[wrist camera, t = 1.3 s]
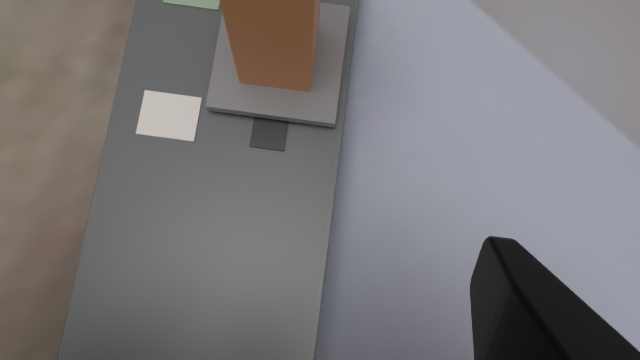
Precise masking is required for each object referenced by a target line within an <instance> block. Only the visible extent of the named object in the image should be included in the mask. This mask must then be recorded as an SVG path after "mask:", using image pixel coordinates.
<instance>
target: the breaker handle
mask: <svg viewBox="0 0 640 360" xmlns="http://www.w3.org/2000/svg"><path fill="white" fill-rule="evenodd" d="M220 5H221V9H222V18H221V24H220V29H219V35H218V40H217V46H216V51H215V57H214V62H213V68H212V73H211V79H210V84H209V90H208V95H207V100H206V106H205V107H206V109H207V110H208V111H215V112H223V113H230V114H237V115H245V116H252V117H260V118H267V119H274V120H282V121H289V122H297V123H304V124H311V125H319V126H326V127H335V121H336V113H337V105H338V98H339V90H340V82H341V74H342V67H343V59H344V51H345V43H346V36H347V28H348V20H349V12H350V6H343V5H336V4H329V3H321V0H220Z"/></svg>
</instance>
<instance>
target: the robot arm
mask: <svg viewBox="0 0 640 360" xmlns="http://www.w3.org/2000/svg"><path fill="white" fill-rule="evenodd" d="M470 299H471V315H472V330H473V346H474V360H640V352H639V351H638V350H637V349H636V348H635V347H634V346H633V345H632V344H630V343H629V342H628V341H627V340H626V339H625V338H624V337H623V336H622V335H620V334H619V333H618V332H617V331H616V330H615V329H614V328H613V327H612V326H610V325H609V324H608V323H607V322H606V321H605V320H604V319H603V318H602V317H600V316H599V315H598V314H597V313H596V312H595V311H594V310H593V309H591V308H590V307H589V306H588V305H587V304H586V303H585V302H584V301H583V300H581V299H580V298H579V297H578V296H577V295H576V294H575V293H574V292H573V291H571V290H570V289H569V288H568V287H567V286H566V285H565V284H564V283H563V282H561V281H560V280H559V279H558V278H557V277H556V276H555V275H554V274H553V273H551V272H550V271H549V270H548V269H547V268H546V267H545V266H544V265H543V264H541V263H540V262H539V261H538V260H537V259H536V258H535V257H534V256H533V255H531V254H530V253H529V252H528V251H527V250H526V249H525V248H524V247H523V246H521V245H520V244H519V243H518V242H517V241H516V240H514V239H510V238H502V237H494V236H489V237H488V238H486V239H485V241H484V242H483V245H482V248H481V251H480V254H479V257H478V260H477V263H476V266H475V269H474V272H473V275H472V278H471V284H470Z"/></svg>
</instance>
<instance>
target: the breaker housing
mask: <svg viewBox="0 0 640 360" xmlns="http://www.w3.org/2000/svg"><path fill="white" fill-rule="evenodd" d="M321 3H329V4H336V5H343V6H350V12H349V20H348V28H347V36H346V43H345V51H344V59H343V67H342V74H341V82H340V90H339V98H338V105H337V113H336V121H335V127H326V126H319V125H311V124H304V123H297V122H289V121H282V120H274V119H267V118H260V117H252V116H245V115H237V114H230V113H223V112H215V111H208V110H207V109H206V107H205V106H206V100H207V95H208V90H209V84H210V79H211V73H212V68H213V62H214V57H215V51H216V46H217V40H218V35H219V29H220V24H221V18H222V9H221V5H220V0H136V3H135V8H134V13H133V17H132V22H131V26H130V31H129V35H128V40H127V44H126V49H125V53H124V58H123V62H122V67H121V72H120V76H119V81H118V85H117V90H116V94H115V99H114V103H113V108H112V112H111V117H110V121H109V126H108V130H107V135H106V140H105V144H104V149H103V153H102V158H101V162H100V167H99V171H98V176H97V180H96V185H95V189H94V194H93V198H92V203H91V208H90V212H89V217H88V221H87V226H86V230H85V235H84V239H83V244H82V248H81V253H80V257H79V262H78V266H77V271H76V276H75V280H74V285H73V289H72V294H71V298H70V303H69V307H68V312H67V316H66V321H65V325H64V330H63V334H62V339H61V344H60V348H59V353H58V357H57V360H314V353H315V345H316V337H317V329H318V321H319V313H320V305H321V297H322V289H323V281H324V273H325V265H326V257H327V249H328V241H329V234H330V226H331V218H332V210H333V202H334V194H335V186H336V178H337V170H338V162H339V154H340V146H341V138H342V130H343V122H344V114H345V106H346V98H347V90H348V83H349V75H350V67H351V59H352V51H353V43H354V35H355V27H356V19H357V11H358V3H359V0H321Z"/></svg>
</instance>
